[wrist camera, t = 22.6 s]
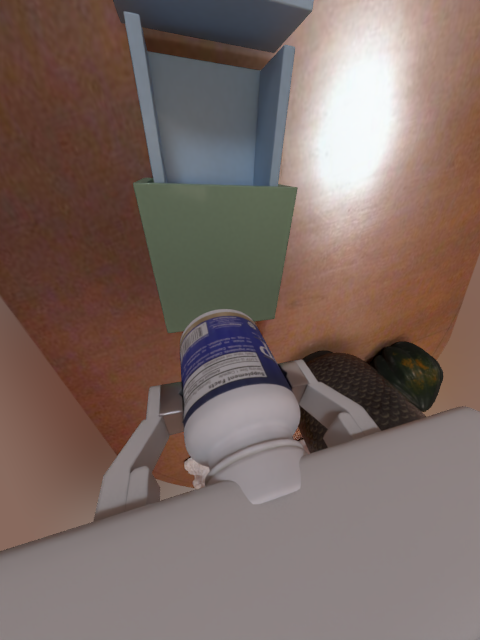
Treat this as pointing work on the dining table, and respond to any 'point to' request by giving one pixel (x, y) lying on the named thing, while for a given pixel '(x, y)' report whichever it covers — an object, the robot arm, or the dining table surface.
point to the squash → (411, 372)
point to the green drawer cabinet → (215, 246)
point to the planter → (355, 394)
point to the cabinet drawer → (214, 89)
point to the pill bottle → (238, 407)
